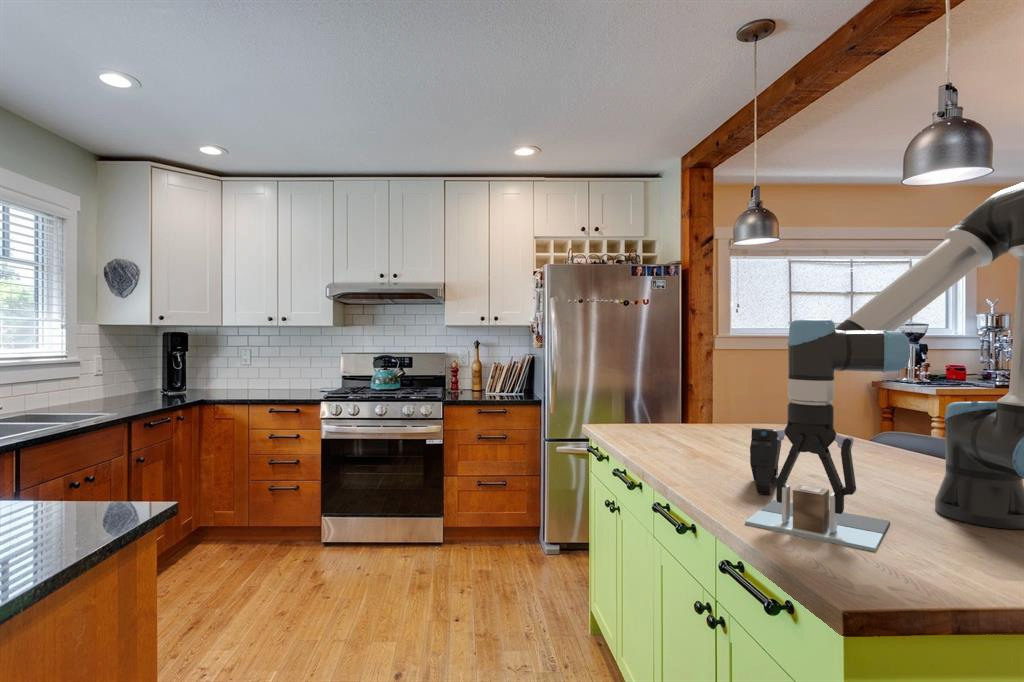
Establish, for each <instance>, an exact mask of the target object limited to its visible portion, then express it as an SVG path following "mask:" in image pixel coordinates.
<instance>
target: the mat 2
mask: <svg viewBox="0 0 1024 682" xmlns="http://www.w3.org/2000/svg"><path fill="white" fill-rule="evenodd" d="M744 525H747V526H752V527H756V528H760V529H766V530H770V529H771V530H770V531H774V530H776V532H779V531H780V533H785V534H789V535H794V536H798V537H804V538H808V539H813V540H818V541H822V542H827V543H832V544H837V545H842V546H846V547H852V548H855V549H861V550H865V551H871V552H874V553H876V551H877V550H878V548H879V546H880V544H881V542H882V540H883V538H884V536H883V534H881V533H876V532H871V531H866V530H860V529H855V528H850V527H845V526H839V525H837V530H836V531H835V532H834V533H833V532H829V528H828V529H827V530H826V531H825V532H824V533H823V534H822V533H817V532H812V531H807V530H802V529H797V528H793V517H792V516H790V519H789V520H788V521H787V522H782V514H777V513H772V512H766V511H761V509H760V510H758V511H757V512H755V513H754V514H753V515H751V516H750V517H749V518H747V519H746V520H744Z"/></svg>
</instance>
